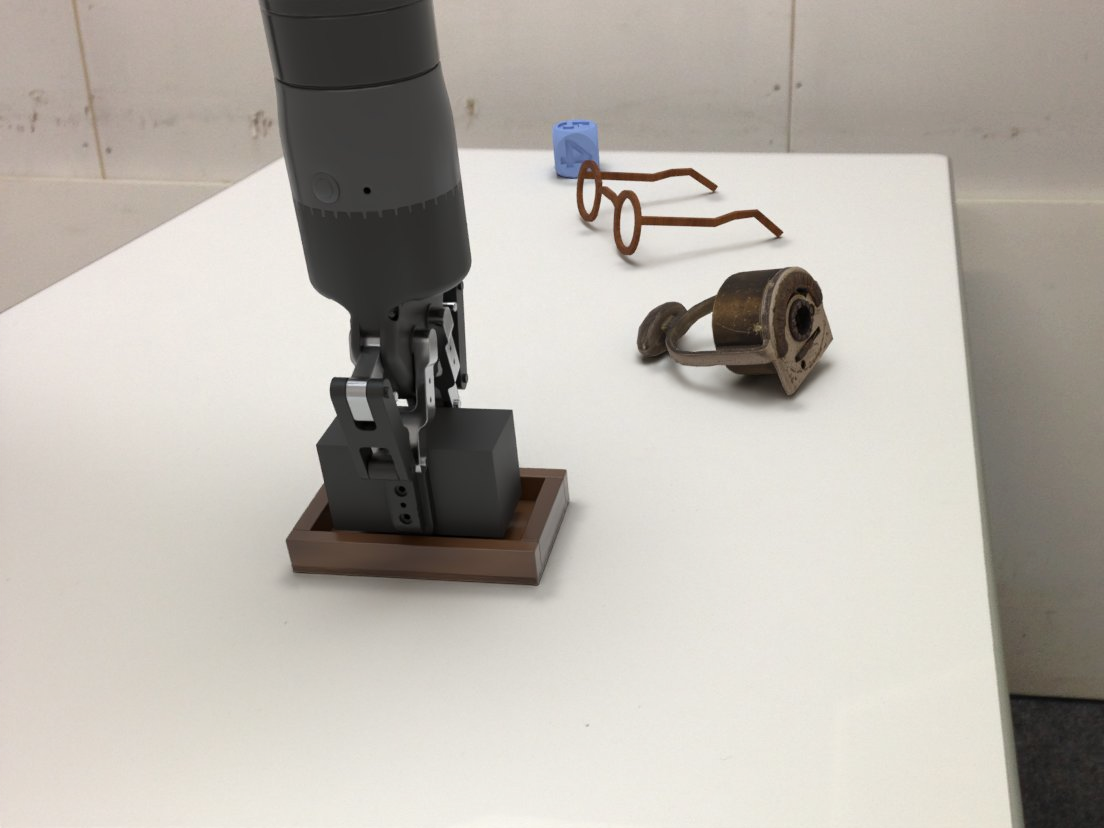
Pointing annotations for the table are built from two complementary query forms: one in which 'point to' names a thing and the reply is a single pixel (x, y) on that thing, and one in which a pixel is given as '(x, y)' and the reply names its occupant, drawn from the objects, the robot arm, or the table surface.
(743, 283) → the antique brass mechanism
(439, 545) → the tray
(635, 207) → the glasses
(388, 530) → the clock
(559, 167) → the decorative dice
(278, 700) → the table surface
